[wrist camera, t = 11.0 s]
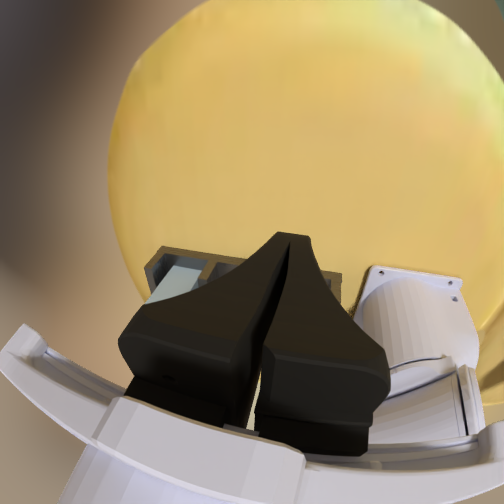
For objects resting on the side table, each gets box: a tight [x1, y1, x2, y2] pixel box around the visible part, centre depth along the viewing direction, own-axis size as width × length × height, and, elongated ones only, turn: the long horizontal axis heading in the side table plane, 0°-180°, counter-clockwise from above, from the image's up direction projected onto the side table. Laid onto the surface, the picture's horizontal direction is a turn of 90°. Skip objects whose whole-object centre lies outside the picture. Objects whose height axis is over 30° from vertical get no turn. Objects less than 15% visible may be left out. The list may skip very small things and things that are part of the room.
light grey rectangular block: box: [145, 266, 202, 304], centre depth 24 cm, size 3×7×6 cm, turn 179°
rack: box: [144, 246, 342, 303], centre depth 25 cm, size 17×10×4 cm, turn 89°
